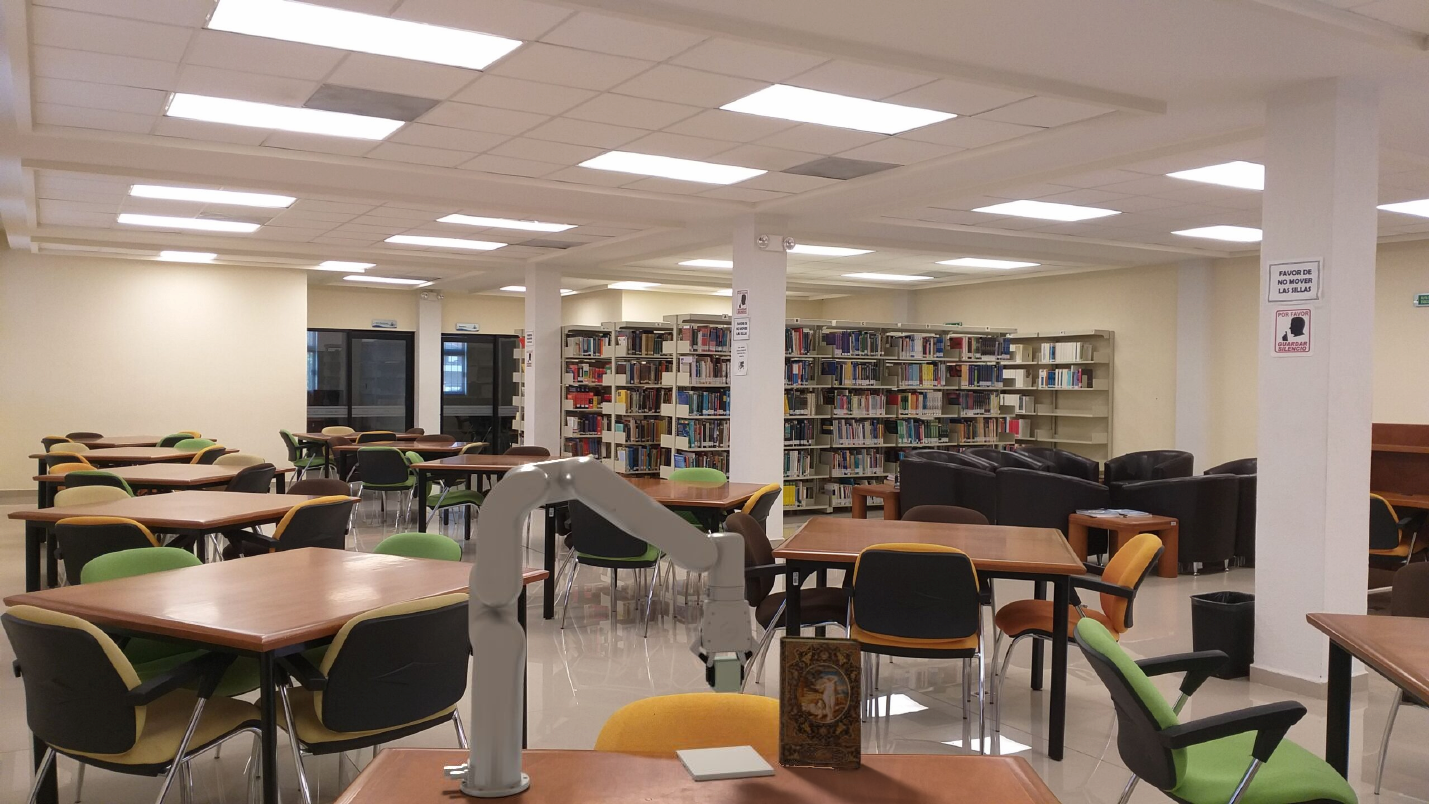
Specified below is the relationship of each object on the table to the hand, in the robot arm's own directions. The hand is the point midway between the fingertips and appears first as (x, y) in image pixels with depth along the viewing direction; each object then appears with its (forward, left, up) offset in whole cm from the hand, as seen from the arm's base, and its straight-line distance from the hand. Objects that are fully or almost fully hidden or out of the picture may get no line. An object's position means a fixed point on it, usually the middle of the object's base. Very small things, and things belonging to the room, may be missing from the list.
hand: (724, 683), depth 196 cm
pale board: (0, 0, -16) cm, 16 cm away
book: (+19, -4, -16) cm, 25 cm away
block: (0, 0, -1) cm, 1 cm away
